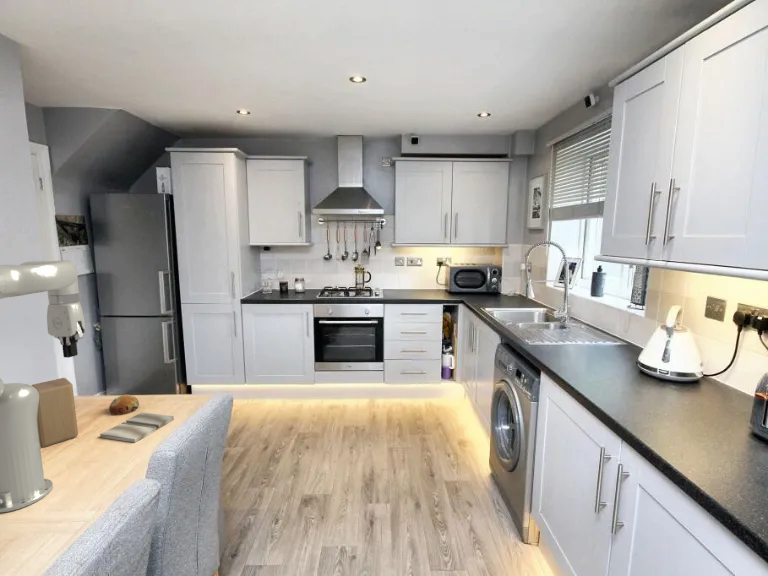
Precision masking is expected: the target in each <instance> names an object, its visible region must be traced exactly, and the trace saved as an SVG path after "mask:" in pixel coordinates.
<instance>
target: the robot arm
mask: <svg viewBox="0 0 768 576" xmlns="http://www.w3.org/2000/svg"><path fill="white" fill-rule="evenodd" d="M78 276H79V275H78V270H77V264H76V262H75V261H73V260H44V261H43V260H40V261H38V260H37V261H34V260H33V261H25V262H22V263H20V264H0V300H1V299H2V300H3V299H6V298H14V297H20V296H21V297H22V296H27V295H32V294H37V293H45V292H47V299H48V305H47V309H46V311H47V312H46V313H47V314H46V324H47V327H46V328H47V333H48V335H50V336H52V337H53V338H55V339H58V340H59V343H60V345H61V346H62V353H63V354H62V355H63V358H72V357H76V356H78V346H77V344H78V342H79V340H82V339H84V334H85V332H86V322H85V321H86V320H85V317H84V312H83V308H82V304H81V300H80V291H79V288H80V287H79V281H78ZM3 381H4V380H2V378H1V377H0V513H7V512H8V513H9V512H12V511H17V510H20V509H22V508H26V507H28V506H30V505H33V504H35V503H36V502H38V501H40V500H41V499H43V498H45V497H46V496H47V495H48V494H49V493H50V492H51V491H52V489H53V487H54V485H53V484H54V483H53V481H52V480H51V479H48V478H45V473H44V467H43V466H44V465H43V459H42V451H41V450H42V449H41V445H40V442H39V434H38V424H37V413H38V405H39V393H38V391H37V389H36V388H34V387H33V386H31V385H30V384H27V383H23V382H22V383H19V382H17V383H16V382H14V383H13V382H10V383H9V382H8V383H7V382H6V383H4V382H3Z"/></svg>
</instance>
